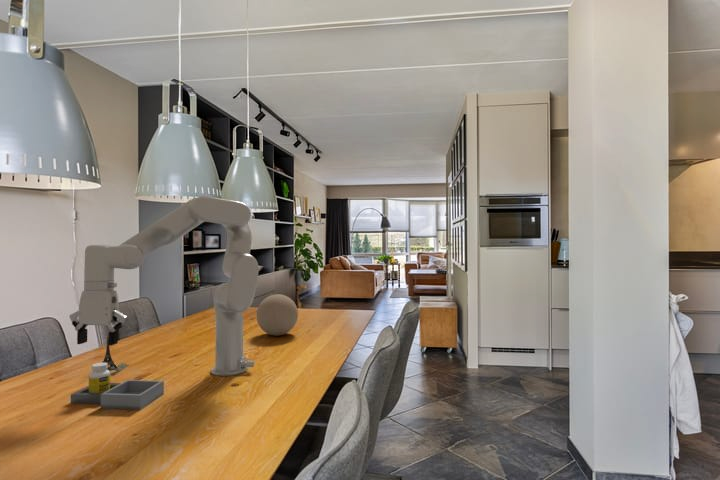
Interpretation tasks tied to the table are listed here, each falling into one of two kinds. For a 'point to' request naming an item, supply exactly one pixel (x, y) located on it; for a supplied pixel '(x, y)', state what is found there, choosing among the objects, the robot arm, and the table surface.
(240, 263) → the robot arm
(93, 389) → the supplement bottle
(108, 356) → the eiffel tower figurine
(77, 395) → the socket collar
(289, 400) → the table surface
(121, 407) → the tray
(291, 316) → the decorative sphere
